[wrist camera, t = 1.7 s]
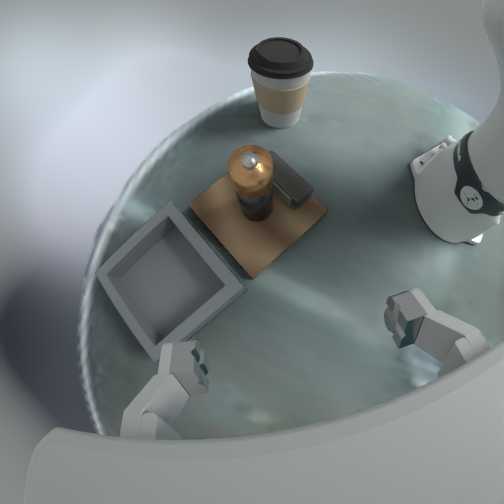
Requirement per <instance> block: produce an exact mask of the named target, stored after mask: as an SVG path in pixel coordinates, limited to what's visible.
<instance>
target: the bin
mask: <svg viewBox="0 0 504 504" xmlns="http://www.w3.org/2000/svg"><path fill="white" fill-rule="evenodd" d="M95 274H96V276H97V277H98V279H99V281H100V283H101V284H102V286H103V288H104V289H105V291H106V293H107V294H108V296H109V298H110V299H111V301H112V302H113V304H114V306H115V307H116V309H117V310H118V312H119V313H120V315H121V316H122V318H123V319H124V321H125V322H126V324H127V325H128V327H129V328H130V330H131V331H132V333H133V334H134V335H135V337H136V338H137V340H138V341H139V342H140V344H141V345H142V347H143V348H144V349H145V351H146V352H147V353H148V355H149V356H150V357H151V359H152V360H153V361H154V362H156V361H158V360H160V355H161V349H162V346H163V344H164V343H173V342H182V341H187V340H189V339H190V338H191V337H192V336H193V335H195V334H196V333H197V332H198V331H199V330H201V329H202V328H203V327H204V326H205V325H206V324H208V323H209V322H210V321H211V320H212V319H213V318H215V317H216V316H217V315H218V314H219V313H220V312H222V311H223V310H224V309H225V308H226V307H227V306H229V305H230V304H231V303H232V302H233V301H234V300H236V299H237V298H238V297H239V296H240V295H241V294H242V293H244V292H245V291H246V290H247V289H246V288H245V286H244V285H243V284H242V283H241V282H240V281H239V280H238V278H237V277H236V276H235V275H234V274H233V273H232V272H231V270H230V269H229V268H228V267H227V266H226V265H225V263H224V262H223V261H222V260H221V259H220V258H219V256H218V255H217V254H216V253H215V252H214V251H213V249H212V248H211V247H210V246H209V245H208V243H207V242H206V241H205V240H204V239H203V238H202V236H201V235H200V234H199V233H198V232H197V230H196V229H195V228H194V227H193V226H192V224H191V223H190V222H189V221H188V220H187V218H186V217H185V216H184V215H183V214H182V212H181V211H180V210H179V209H178V208H177V207H176V206H175V205H174V204H173V203H172V202H171V201H169V202H168V203H167V204H166V205H165V206H164V207H163V208H161V209H160V210H159V211H158V212H157V213H156V214H155V215H154V216H153V217H151V218H150V219H149V220H148V221H147V222H146V223H145V224H144V225H143V226H142V227H141V228H140V229H138V230H137V231H136V232H135V233H134V234H133V235H132V236H131V237H130V238H129V239H128V240H127V241H126V242H125V243H124V244H123V245H122V246H121V247H120V248H119V249H118V250H117V251H116V252H115V253H114V254H113V255H112V256H111V257H110V258H109V259H108V260H107V261H106V262H105V263H104V264H103V265H102V266H101V267H100V268H99V269H98V270H97V271H96V272H95Z"/></svg>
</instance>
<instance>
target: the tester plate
mask: <svg viewBox="0 0 504 504" xmlns="http://www.w3.org/2000/svg"><path fill="white" fill-rule="evenodd" d="M269 154H270V155H271V157H272V161H273V210H272V213H271V214H270V216H269V217H268V218H267V219H265V220H263V221H258V222H255V221H251V220H249V219H247V218H246V217H245V216H244V215H243V213H242V210H241V207H240V204H239V201H238V198H237V194H236V191H235V188H234V185H233V182H232V179H231V175H230V172H228V173H227V174H225V175H224V176H223V177H222V178H220V179H219V180H218V181H217V182H215V183H214V184H213V185H212V186H211V187H209V188H208V189H207V190H206V191H204V192H203V193H202V194H201V195H200V196H198V197H197V198H196V199H195V200H194V201H193V202H191V203H190V204H189V206H190V207H191V209H192V210H193V211H194V212H195V213H196V215H197V216H198V217H199V218H200V219H201V220H202V222H203V223H204V224H205V225H206V226H207V227H208V228H209V230H210V231H211V232H212V233H213V234H214V235H215V237H216V238H217V239H218V240H219V241H220V242H221V243H222V245H223V246H224V247H225V248H226V249H227V250H228V252H229V253H230V254H231V255H232V256H233V257H234V258H235V259H236V261H237V262H238V263H239V264H240V265H241V266H242V267H243V269H244V270H245V271H246V272H247V273H248V274H249V275H250V277H251V278H252V279H254V278H255V277H256V276H257V275H259V274H260V273H261V272H262V271H263V270H264V269H265V268H267V267H268V266H269V265H270V264H271V263H272V262H273V261H274V260H276V259H277V258H278V257H279V256H280V255H281V254H282V253H283V252H285V251H286V250H287V249H288V248H289V247H290V246H291V245H292V244H293V243H295V242H296V241H297V240H298V239H299V238H300V237H301V236H302V235H303V234H305V233H306V232H307V231H308V230H309V229H310V228H311V227H312V226H313V225H315V224H316V223H317V222H318V221H319V220H320V219H321V218H322V217H323V216H324V215H325V214H326V213H327V211H328V210H327V209H326V208H325V207H324V206H323V205H322V204H321V203H320V202H319V201H318V200H317V199H316V198H315V197H314V196H313V195H312V191H313V188H312V187H311V186H310V185H309V184H308V183H307V182H306V181H305V180H304V179H303V178H302V177H301V176H300V175H299V174H297V173H296V172H295V171H294V170H293V169H292V168H291V167H290V166H289V165H288V164H287V163H285V162H284V161H283V160H282V159H281V158H280V157H279V156H278V155H277V154H275V153H274V152H273V151H270V152H269Z"/></svg>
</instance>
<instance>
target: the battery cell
mask: <svg viewBox="0 0 504 504" xmlns="http://www.w3.org/2000/svg"><path fill="white" fill-rule="evenodd" d="M228 169H229V172H230V175H231V179H232V182H233V185H234V188H235V191H236V194H237V198H238V201H239V204H240V207H241V210H242V213H243V215H244V216H245V217H246V218H247V219H249V220H251V221H255V222H258V221H263V220H265V219H267V218H268V217H269V216H270V214H271V213H272V210H273V161H272V157H271V155H270V154H269V152H268V151H267V150H266V149H264V148H262V147H260V146H257V145H246V146H242V147H240V148H238V149H237V150H235V151H234V152H233V153H232V154H231V156H230V158H229V160H228Z"/></svg>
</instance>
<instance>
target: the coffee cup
mask: <svg viewBox="0 0 504 504" xmlns="http://www.w3.org/2000/svg"><path fill="white" fill-rule="evenodd" d="M248 64H249V66H250V68H251V77H252V81H253V85H254V89H255V94H256V98H257V102H258V104H259V109H260V114H261V118H262V119H263V121H264V122H265V123H266V124H268V125H269V126H272V127H275V128H288V127H291V126H293V125H295V124H296V123H297V122H298V120H299V117H300V113H301V109H302V106H303V104H304V100H305V96H306V92H307V88H308V84H309V80H310V71H311V69H312V68H313V59H312V56H311V54H310V52H309V51H308V50H307V49H306V48H305V47H303V46H302V45H301V44H300V43H299V42H297V41H295V40H292V39H288V38H281V37H275V38H269V39H266V40H263V41H261V42H260V43H259V44H257V45H256V46H254V47H253V48H252V49H251V51H250V53H249V58H248Z"/></svg>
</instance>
